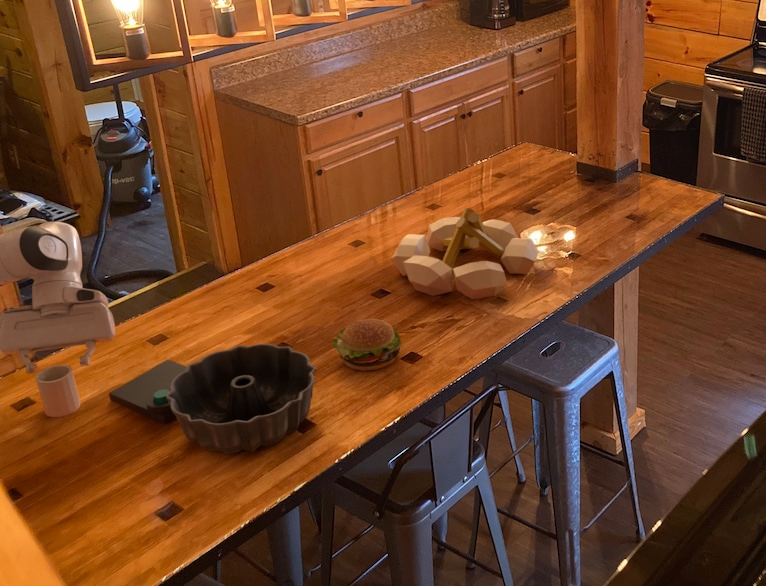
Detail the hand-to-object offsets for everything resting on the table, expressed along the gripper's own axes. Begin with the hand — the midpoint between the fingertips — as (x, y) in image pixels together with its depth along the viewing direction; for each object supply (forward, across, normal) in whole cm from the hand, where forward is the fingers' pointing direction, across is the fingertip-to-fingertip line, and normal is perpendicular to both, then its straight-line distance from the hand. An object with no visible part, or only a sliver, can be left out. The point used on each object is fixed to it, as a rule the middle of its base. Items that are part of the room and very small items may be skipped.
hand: (58, 369), depth 186 cm
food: (+6, +59, +5) cm, 59 cm away
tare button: (+10, +19, -4) cm, 22 cm away
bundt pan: (+18, +35, -8) cm, 40 cm away
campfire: (-19, +86, +30) cm, 93 cm away
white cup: (+7, 0, +3) cm, 8 cm away
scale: (+8, +19, +2) cm, 21 cm away
